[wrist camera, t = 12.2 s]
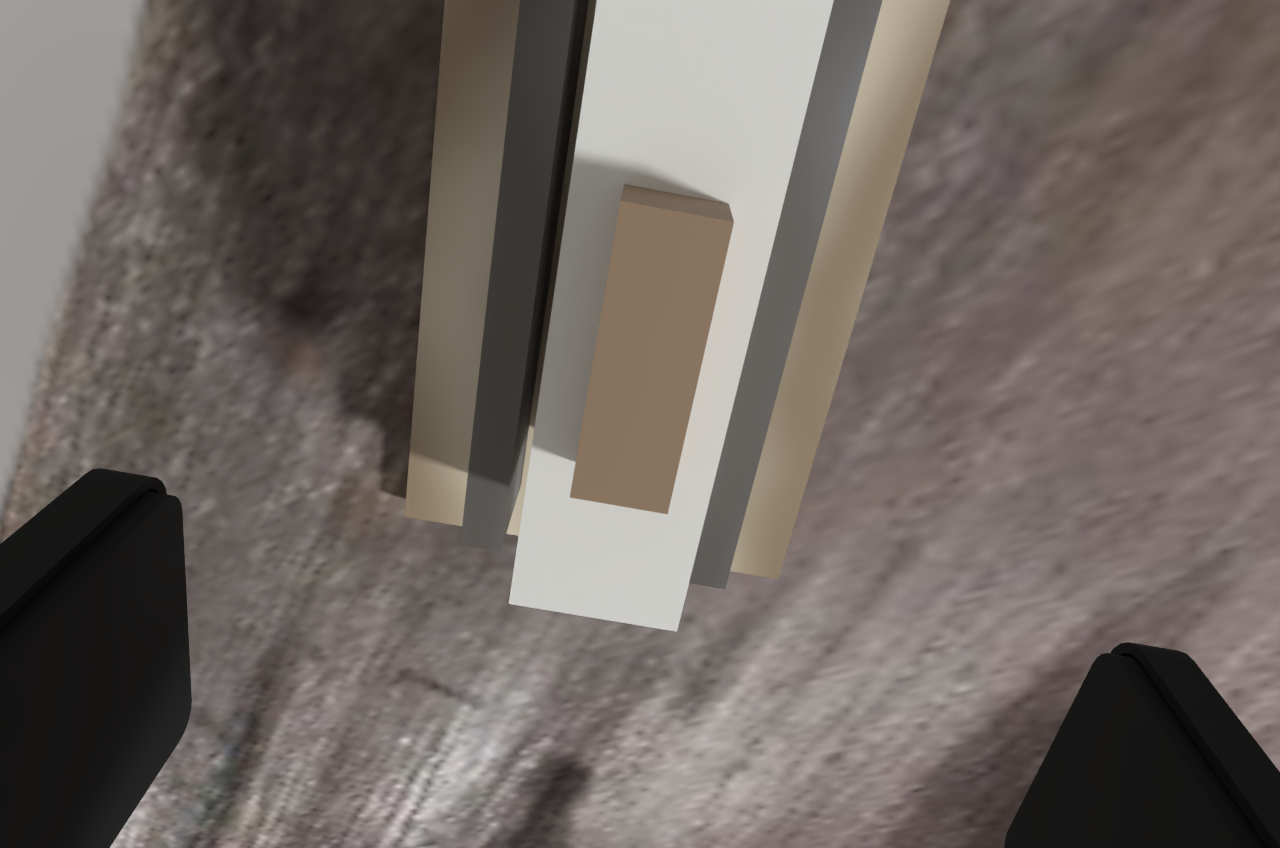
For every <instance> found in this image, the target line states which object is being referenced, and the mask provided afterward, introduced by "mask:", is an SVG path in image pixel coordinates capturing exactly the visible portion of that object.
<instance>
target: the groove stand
mask: <svg viewBox="0 0 1280 848" xmlns="http://www.w3.org/2000/svg"><path fill="white" fill-rule="evenodd" d="M596 2H597V0H445V1H444V14H443V27H442V40H441V53H440V66H439V79H438V92H437V105H436V118H435V131H434V143H433V156H432V169H431V182H430V195H429V208H428V221H427V234H426V247H425V260H424V273H423V286H422V299H421V311H420V324H419V337H418V350H417V363H416V376H415V389H414V402H413V415H412V428H411V441H410V454H409V466H408V479H407V492H406V505H405V517H410V518H416V519H422V520H428V521H434V522H440V523H446V524H452V525H458V526H462V532H461V541H460V545H463V546H469V547H475V548H481V549H487V550H493V551H500V552H501V550H502V546H503V543H504V540H505V536H506V534H511V535H517V536H519V531H520V524H521V517H522V510H523V503H524V496H525V489H526V483H527V476H528V469H529V462H530V455H531V448H532V441H533V435H534V428H535V421H536V414H537V407H538V400H539V393H540V387H541V380H542V373H543V366H544V359H545V352H546V345H547V338H548V332H549V325H550V318H551V311H552V304H553V297H554V290H555V284H556V277H557V270H558V263H559V256H560V249H561V242H562V236H563V229H564V222H565V215H566V208H567V201H568V194H569V188H570V181H571V174H572V167H573V160H574V153H575V146H576V140H577V133H578V126H579V119H580V112H581V105H582V98H583V92H584V85H585V78H586V71H587V64H588V57H589V50H590V44H591V37H592V30H593V23H594V16H595V9H596ZM949 2H950V0H834V2H833V6H832V10H831V14H830V18H829V22H828V26H827V30H826V34H825V38H824V42H823V46H822V50H821V54H820V58H819V62H818V66H817V70H816V74H815V78H814V82H813V86H812V90H811V94H810V98H809V102H808V106H807V110H806V114H805V118H804V122H803V126H802V130H801V134H800V138H799V142H798V147H797V151H796V155H795V159H794V163H793V167H792V171H791V175H790V179H789V183H788V187H787V191H786V195H785V199H784V203H783V207H782V211H781V215H780V219H779V223H778V227H777V231H776V235H775V239H774V243H773V247H772V251H771V255H770V259H769V263H768V267H767V271H766V275H765V279H764V283H763V287H762V291H761V295H760V299H759V303H758V307H757V311H756V315H755V319H754V324H753V328H752V332H751V336H750V340H749V344H748V348H747V352H746V356H745V360H744V364H743V368H742V372H741V376H740V380H739V384H738V388H737V392H736V396H735V400H734V404H733V408H732V412H731V416H730V420H729V424H728V428H727V432H726V436H725V440H724V444H723V448H722V452H721V456H720V460H719V464H718V468H717V472H716V476H715V480H714V484H713V488H712V492H711V496H710V501H709V505H708V509H707V513H706V517H705V521H704V525H703V529H702V533H701V537H700V541H699V545H698V549H697V553H696V557H695V561H694V565H693V569H692V573H691V577H690V581H689V583H692V584H698V585H704V586H710V587H716V588H722V589H725V588H726V584H727V580H728V577H729V573H730V571H733V572H739V573H745V574H751V575H757V576H763V577H769V578H775V579H779V575H780V572H781V569H782V565H783V562H784V559H785V555H786V552H787V548H788V545H789V542H790V538H791V535H792V532H793V528H794V525H795V521H796V518H797V515H798V511H799V508H800V505H801V501H802V498H803V494H804V491H805V488H806V484H807V481H808V478H809V474H810V471H811V468H812V464H813V461H814V457H815V454H816V451H817V447H818V444H819V441H820V437H821V434H822V430H823V427H824V424H825V420H826V417H827V414H828V410H829V407H830V403H831V400H832V397H833V393H834V390H835V387H836V383H837V380H838V377H839V373H840V370H841V366H842V363H843V360H844V356H845V353H846V350H847V346H848V343H849V339H850V336H851V333H852V329H853V326H854V323H855V319H856V316H857V312H858V309H859V306H860V302H861V299H862V296H863V292H864V289H865V285H866V282H867V279H868V275H869V272H870V269H871V265H872V262H873V259H874V255H875V252H876V248H877V245H878V242H879V238H880V235H881V232H882V228H883V225H884V221H885V218H886V215H887V211H888V208H889V205H890V201H891V198H892V194H893V191H894V188H895V184H896V181H897V178H898V174H899V171H900V167H901V164H902V161H903V157H904V154H905V151H906V147H907V144H908V141H909V137H910V134H911V130H912V127H913V124H914V120H915V117H916V114H917V110H918V107H919V103H920V100H921V97H922V93H923V90H924V87H925V83H926V80H927V76H928V73H929V70H930V66H931V63H932V60H933V56H934V53H935V49H936V46H937V43H938V39H939V36H940V33H941V29H942V26H943V23H944V19H945V16H946V12H947V9H948V6H949Z"/></svg>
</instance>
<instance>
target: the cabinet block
mask: <svg viewBox="0 0 1280 848" xmlns="http://www.w3.org/2000/svg"><path fill="white" fill-rule="evenodd" d="M833 2H834V0H597V2H596V9H595V16H594V23H593V30H592V37H591V44H590V50H589V57H588V64H587V71H586V78H585V85H584V92H583V98H582V105H581V112H580V119H579V126H578V133H577V140H576V146H575V153H574V160H573V167H572V174H571V181H570V188H569V194H568V201H567V208H566V215H565V222H564V229H563V236H562V242H561V249H560V256H559V263H558V270H557V277H556V284H555V290H554V297H553V304H552V311H551V318H550V325H549V332H548V338H547V345H546V352H545V359H544V366H543V373H542V380H541V387H540V393H539V400H538V407H537V414H536V421H535V428H534V435H533V441H532V448H531V455H530V462H529V469H528V476H527V483H526V489H525V496H524V503H523V510H522V517H521V524H520V531H519V537H518V544H517V551H516V558H515V565H514V572H513V579H512V585H511V592H510V599H509V604H513V605H519V606H525V607H531V608H537V609H543V610H550V611H556V612H562V613H568V614H574V615H580V616H586V617H592V618H598V619H604V620H610V621H616V622H622V623H628V624H634V625H640V626H646V627H652V628H658V629H664V630H670V631H676V632H677V629H678V625H679V621H680V617H681V613H682V609H683V605H684V601H685V597H686V593H687V589H688V585H689V581H690V577H691V573H692V569H693V565H694V561H695V557H696V553H697V549H698V545H699V541H700V537H701V533H702V529H703V525H704V521H705V517H706V513H707V509H708V505H709V501H710V496H711V492H712V488H713V484H714V480H715V476H716V472H717V468H718V464H719V460H720V456H721V452H722V448H723V444H724V440H725V436H726V432H727V428H728V424H729V420H730V416H731V412H732V408H733V404H734V400H735V396H736V392H737V388H738V384H739V380H740V376H741V372H742V368H743V364H744V360H745V356H746V352H747V348H748V344H749V340H750V336H751V332H752V328H753V324H754V319H755V315H756V311H757V307H758V303H759V299H760V295H761V291H762V287H763V283H764V279H765V275H766V271H767V267H768V263H769V259H770V255H771V251H772V247H773V243H774V239H775V235H776V231H777V227H778V223H779V219H780V215H781V211H782V207H783V203H784V199H785V195H786V191H787V187H788V183H789V179H790V175H791V171H792V167H793V163H794V159H795V155H796V151H797V147H798V142H799V138H800V134H801V130H802V126H803V122H804V118H805V114H806V110H807V106H808V102H809V98H810V94H811V90H812V86H813V82H814V78H815V74H816V70H817V66H818V62H819V58H820V54H821V50H822V46H823V42H824V38H825V34H826V30H827V26H828V22H829V18H830V14H831V10H832V6H833Z"/></svg>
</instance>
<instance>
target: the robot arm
mask: <svg viewBox="0 0 1280 848" xmlns="http://www.w3.org/2000/svg"><path fill="white" fill-rule="evenodd" d="M191 702H192V698H191V677H190V657H189V637H188V617H187V597H186V576H185V556H184V536H183V516H182V506H181V503H180V501H179V498H177V497H175V496H172V495H167V493H166V488H165V486H164V484H163V482H162V481H161V480H159V479H158V478H155V477H149V476H143V475H137V474H131V473H125V472H119V471H113V470H108V469H102V468H101V469H93V470H91V471H90V472H88V473H86V474H85V475H84V476H82V477H81V478H80V479H79V480H78V481H76V482H75V483H74V484H73V485H71V486H70V487H69V488H68V489H67V490H65V491H64V492H63V493H62V494H61V495H59V496H58V497H57V498H56V499H55V500H53V501H52V502H51V503H50V504H48V505H47V506H46V507H45V508H44V509H42V510H41V511H40V512H39V513H38V514H36V515H35V516H34V517H33V518H32V519H30V520H29V521H28V522H27V523H25V524H24V525H23V526H22V527H21V528H19V529H18V530H17V531H16V532H15V533H13V534H12V535H11V536H10V537H8V538H7V539H6V540H5V541H4V542H2V543H1V544H0V848H110V846H111V845H112V843H113V842H114V840H115V839H116V837H117V835H118V834H119V832H120V831H121V829H122V828H123V826H124V825H125V823H126V822H127V820H128V819H129V817H130V816H131V814H132V813H133V811H134V810H135V808H136V807H137V805H138V803H139V802H140V800H141V799H142V797H143V796H144V794H145V793H146V791H147V790H148V788H149V787H150V785H151V784H152V782H153V781H154V779H155V778H156V776H157V775H158V773H159V772H160V770H161V768H162V767H163V765H164V764H165V762H166V761H167V759H168V758H169V756H170V755H171V753H172V752H173V750H174V749H175V747H176V746H177V744H178V743H179V741H180V739H181V737H182V736H183V734H184V731H185V729H186V726H187V723H188V720H189V717H190V712H191ZM1005 848H1280V772H1279V771H1278V769H1277V768H1276V767H1275V765H1274V764H1273V763H1272V761H1271V760H1270V759H1269V758H1268V756H1267V755H1266V754H1265V752H1264V751H1263V750H1262V749H1261V747H1260V746H1259V745H1258V743H1257V742H1256V741H1255V739H1254V738H1253V737H1252V736H1251V734H1250V733H1249V732H1248V730H1247V729H1246V728H1245V726H1244V725H1243V724H1242V723H1241V721H1240V720H1239V719H1238V717H1237V716H1236V715H1235V713H1234V712H1233V711H1232V710H1231V708H1230V707H1229V706H1228V704H1227V703H1226V702H1225V700H1224V699H1223V698H1222V697H1221V695H1220V694H1219V693H1218V691H1217V690H1216V689H1215V688H1214V686H1213V685H1212V684H1211V682H1210V681H1209V680H1208V678H1207V677H1206V676H1205V675H1204V673H1203V672H1202V671H1201V669H1200V668H1199V667H1198V665H1197V664H1196V663H1195V662H1194V660H1192V659H1191V658H1190V657H1189V656H1188V655H1187V654H1186V653H1183V652H1180V651H1177V650H1171V649H1165V648H1159V647H1153V646H1147V645H1141V644H1135V643H1129V642H1127V643H1121V644H1119V645H1118V646H1116V647H1115V648H1114V649H1113V650H1112V651H1111V653H1110V654H1109V653H1106V654H1101V655H1100V656H1099V657H1097V658H1096V660H1095V661H1094V663H1093V664H1092V666H1091V668H1090V670H1089V672H1088V674H1087V676H1086V678H1085V680H1084V682H1083V684H1082V686H1081V688H1080V690H1079V692H1078V694H1077V696H1076V698H1075V700H1074V702H1073V704H1072V706H1071V708H1070V709H1069V711H1068V713H1067V715H1066V717H1065V719H1064V721H1063V723H1062V725H1061V727H1060V729H1059V731H1058V733H1057V735H1056V737H1055V739H1054V741H1053V743H1052V745H1051V747H1050V749H1049V751H1048V753H1047V755H1046V757H1045V759H1044V761H1043V763H1042V765H1041V767H1040V769H1039V771H1038V773H1037V774H1036V776H1035V778H1034V780H1033V782H1032V784H1031V786H1030V788H1029V790H1028V792H1027V794H1026V796H1025V798H1024V800H1023V802H1022V804H1021V806H1020V808H1019V810H1018V812H1017V814H1016V816H1015V818H1014V820H1013V822H1012V824H1011V826H1010V828H1009V830H1008V833H1007V835H1006V840H1005Z"/></svg>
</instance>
